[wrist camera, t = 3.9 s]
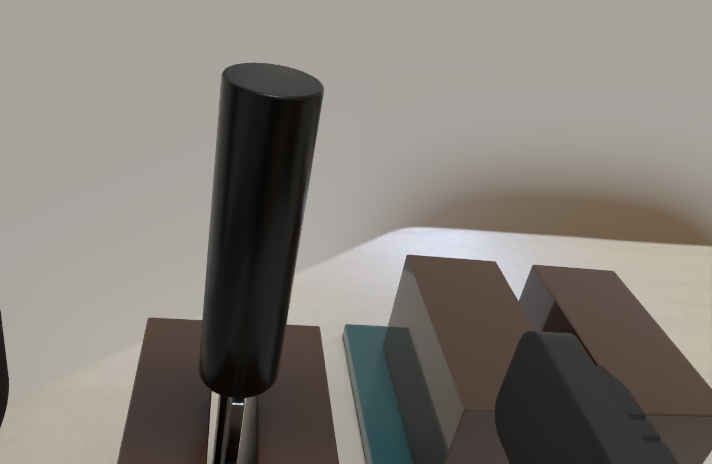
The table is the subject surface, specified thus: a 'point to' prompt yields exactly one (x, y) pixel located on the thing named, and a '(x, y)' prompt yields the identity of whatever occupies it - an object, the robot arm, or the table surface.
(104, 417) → the table surface
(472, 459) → the twin blocks on tray
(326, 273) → the table surface
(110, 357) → the table surface
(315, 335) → the knife block
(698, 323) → the table surface
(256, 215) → the knife
